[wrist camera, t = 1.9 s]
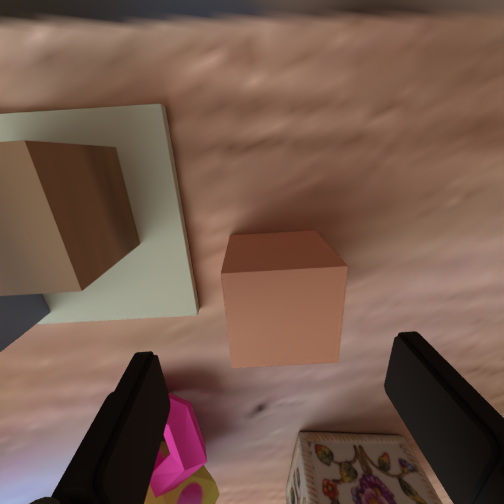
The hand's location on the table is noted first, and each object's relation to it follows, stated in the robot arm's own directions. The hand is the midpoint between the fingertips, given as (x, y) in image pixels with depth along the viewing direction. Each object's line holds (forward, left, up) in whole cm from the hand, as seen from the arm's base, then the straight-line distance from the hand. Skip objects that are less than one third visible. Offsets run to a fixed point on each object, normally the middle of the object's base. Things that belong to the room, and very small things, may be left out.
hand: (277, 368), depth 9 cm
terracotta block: (-1, 0, -9) cm, 9 cm away
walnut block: (+11, -6, -8) cm, 15 cm away
